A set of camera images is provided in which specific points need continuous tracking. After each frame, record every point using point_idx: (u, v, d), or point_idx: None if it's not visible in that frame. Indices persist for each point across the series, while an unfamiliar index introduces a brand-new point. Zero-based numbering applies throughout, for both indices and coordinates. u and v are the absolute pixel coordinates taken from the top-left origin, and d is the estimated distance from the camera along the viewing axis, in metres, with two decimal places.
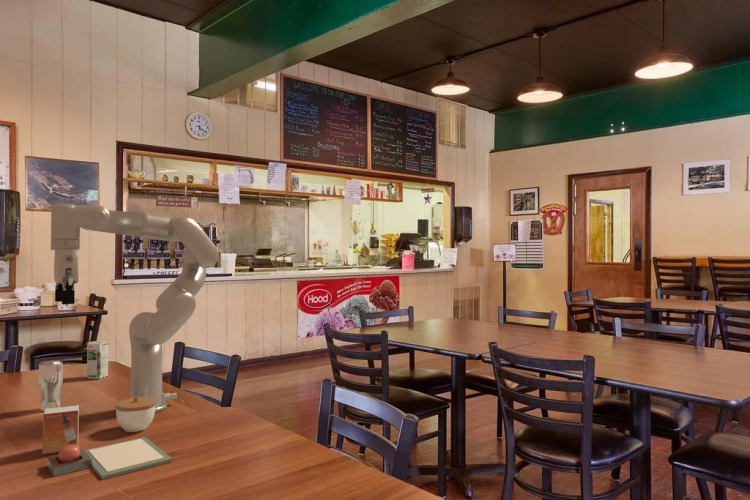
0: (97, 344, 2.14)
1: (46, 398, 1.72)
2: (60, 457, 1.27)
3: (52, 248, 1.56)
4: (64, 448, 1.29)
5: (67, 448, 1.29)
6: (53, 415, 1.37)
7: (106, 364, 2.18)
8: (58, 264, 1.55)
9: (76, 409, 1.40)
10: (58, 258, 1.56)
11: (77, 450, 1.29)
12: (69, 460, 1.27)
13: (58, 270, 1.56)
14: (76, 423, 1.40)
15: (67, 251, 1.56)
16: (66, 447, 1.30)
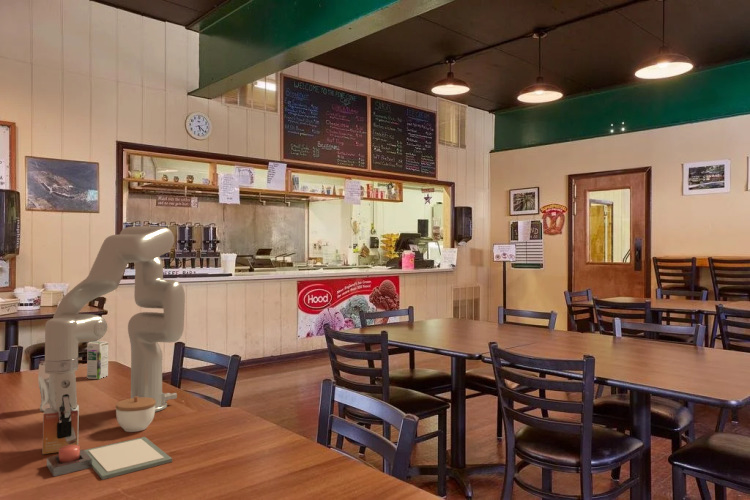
0: (97, 344, 2.14)
1: (46, 398, 1.72)
2: (60, 457, 1.27)
3: (46, 371, 1.37)
4: (64, 448, 1.29)
5: (67, 448, 1.29)
6: (53, 415, 1.37)
7: (106, 364, 2.18)
8: (54, 390, 1.36)
9: (76, 409, 1.40)
10: (53, 383, 1.36)
11: (77, 450, 1.29)
12: (69, 460, 1.27)
13: (53, 397, 1.36)
14: (76, 423, 1.39)
15: (64, 375, 1.37)
16: (66, 447, 1.30)
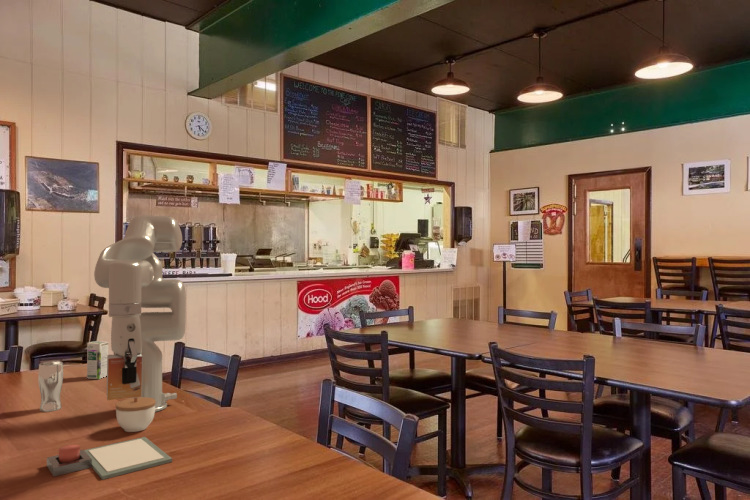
0: (97, 344, 2.14)
1: (46, 398, 1.72)
2: (60, 457, 1.27)
3: (111, 315, 1.32)
4: (64, 448, 1.29)
5: (67, 448, 1.29)
6: (117, 360, 1.32)
7: (106, 364, 2.18)
8: (119, 334, 1.32)
9: (140, 355, 1.36)
10: (119, 326, 1.32)
11: (77, 450, 1.29)
12: (69, 460, 1.27)
13: (119, 341, 1.32)
14: (140, 369, 1.35)
15: (129, 318, 1.32)
16: (66, 447, 1.30)
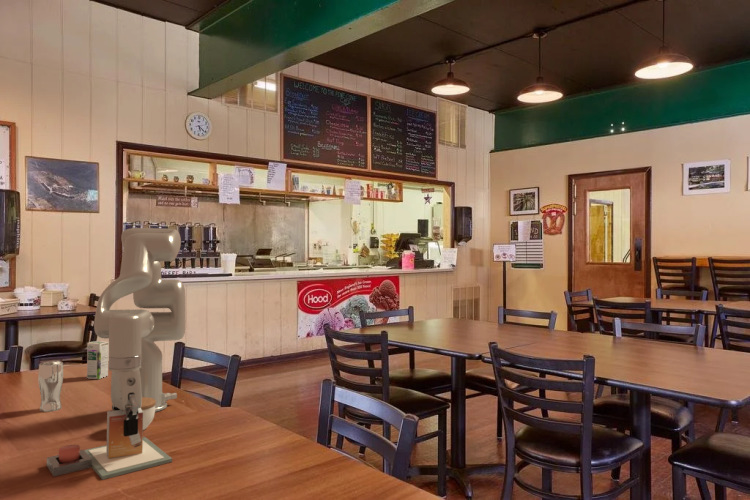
0: (97, 344, 2.14)
1: (46, 398, 1.72)
2: (60, 457, 1.27)
3: (111, 369, 1.32)
4: (64, 448, 1.29)
5: (67, 448, 1.29)
6: (118, 417, 1.32)
7: (106, 364, 2.18)
8: (119, 388, 1.32)
9: (140, 411, 1.36)
10: (119, 380, 1.32)
11: (77, 450, 1.29)
12: (69, 460, 1.27)
13: (119, 395, 1.32)
14: (141, 425, 1.35)
15: (129, 372, 1.32)
16: (66, 447, 1.30)
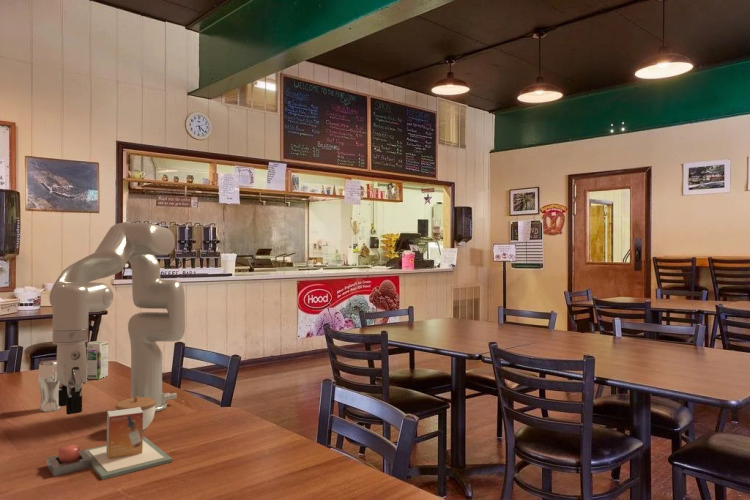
0: (97, 344, 2.14)
1: (46, 398, 1.72)
2: (60, 457, 1.27)
3: (54, 342, 1.26)
4: (64, 448, 1.29)
5: (67, 448, 1.29)
6: (118, 417, 1.32)
7: (106, 364, 2.18)
8: (62, 362, 1.25)
9: (140, 411, 1.36)
10: (62, 354, 1.25)
11: (77, 450, 1.29)
12: (69, 460, 1.27)
13: (62, 370, 1.25)
14: (141, 425, 1.35)
15: (73, 346, 1.26)
16: (66, 447, 1.30)
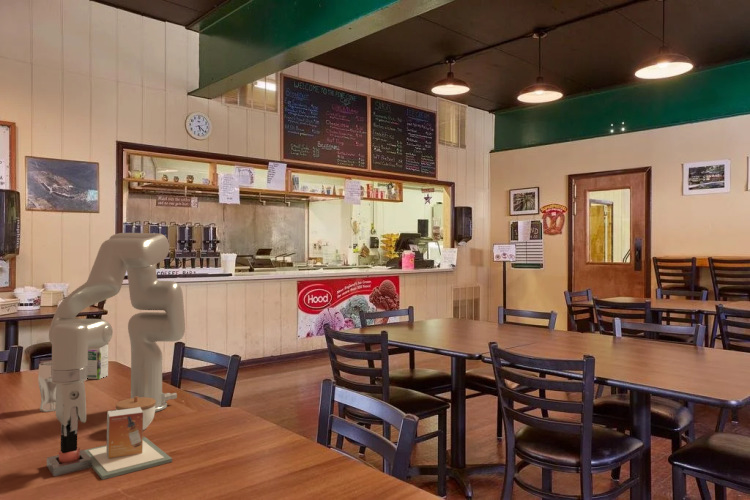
0: None
1: (46, 398, 1.72)
2: (60, 460, 1.27)
3: (54, 381, 1.26)
4: None
5: None
6: (118, 417, 1.32)
7: (106, 364, 2.18)
8: (61, 402, 1.25)
9: (140, 411, 1.36)
10: (61, 394, 1.25)
11: (77, 453, 1.29)
12: None
13: (61, 409, 1.25)
14: (141, 425, 1.35)
15: (72, 385, 1.25)
16: None
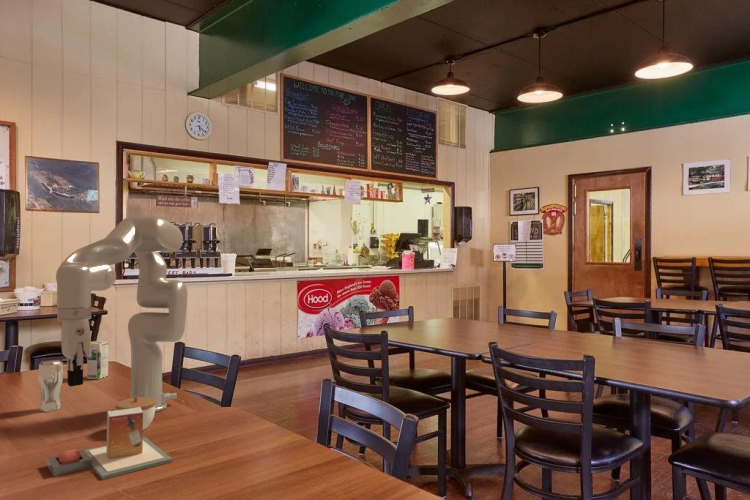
0: (97, 344, 2.14)
1: (46, 398, 1.72)
2: (60, 462, 1.27)
3: (59, 319, 1.33)
4: (64, 453, 1.29)
5: (67, 453, 1.29)
6: (118, 417, 1.32)
7: (106, 364, 2.18)
8: (67, 338, 1.32)
9: (140, 411, 1.36)
10: (67, 330, 1.32)
11: (77, 455, 1.29)
12: None
13: (67, 345, 1.32)
14: (141, 425, 1.35)
15: (77, 322, 1.33)
16: (66, 452, 1.30)
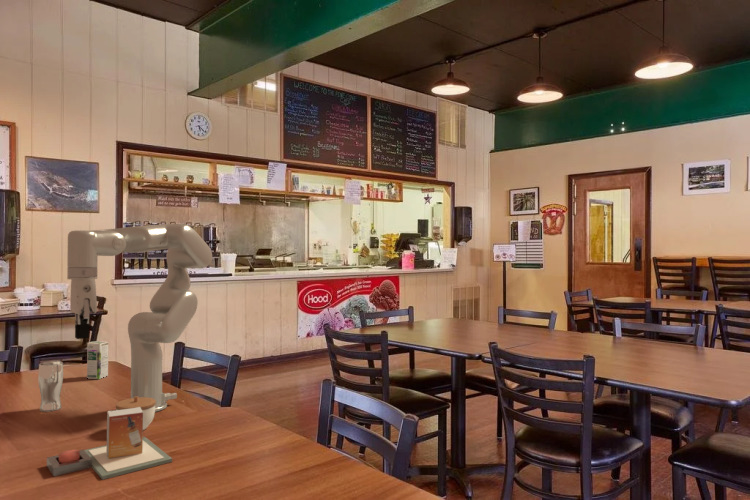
0: (97, 344, 2.14)
1: (46, 398, 1.72)
2: (60, 462, 1.27)
3: (69, 277, 1.49)
4: (64, 453, 1.29)
5: (67, 453, 1.29)
6: (118, 417, 1.32)
7: (106, 364, 2.18)
8: (76, 294, 1.48)
9: (140, 411, 1.36)
10: (76, 287, 1.49)
11: (77, 455, 1.29)
12: None
13: (76, 300, 1.48)
14: (141, 425, 1.35)
15: (85, 280, 1.49)
16: (66, 452, 1.30)
